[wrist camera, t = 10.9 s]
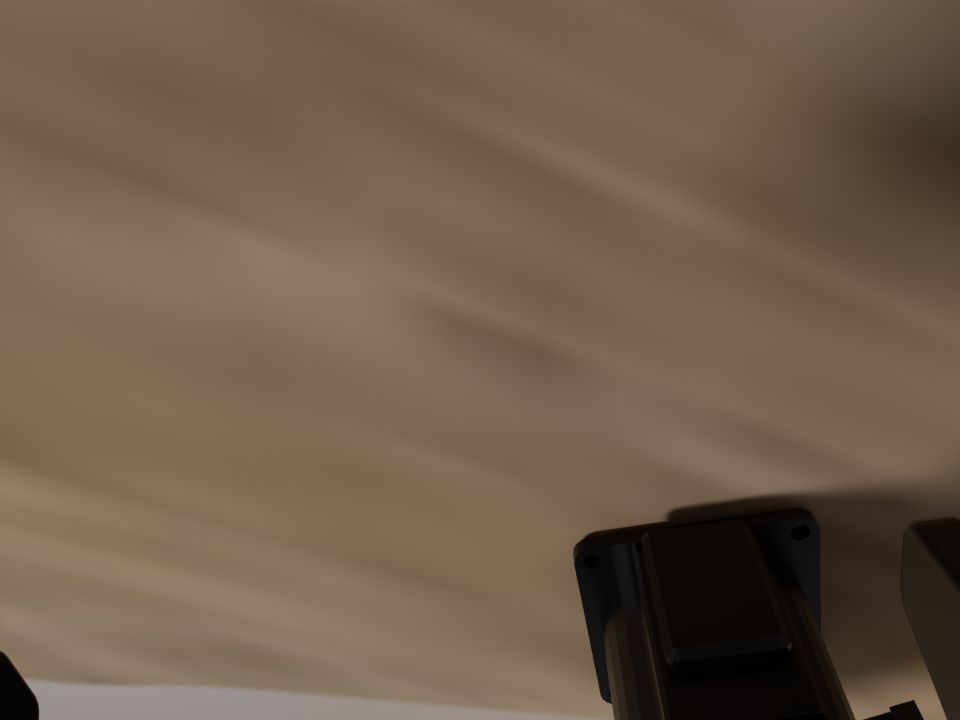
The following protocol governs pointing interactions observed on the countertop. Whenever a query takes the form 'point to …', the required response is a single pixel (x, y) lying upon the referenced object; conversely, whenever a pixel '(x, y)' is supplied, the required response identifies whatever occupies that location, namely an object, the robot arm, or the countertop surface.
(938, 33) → the countertop surface
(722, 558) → the robot arm
